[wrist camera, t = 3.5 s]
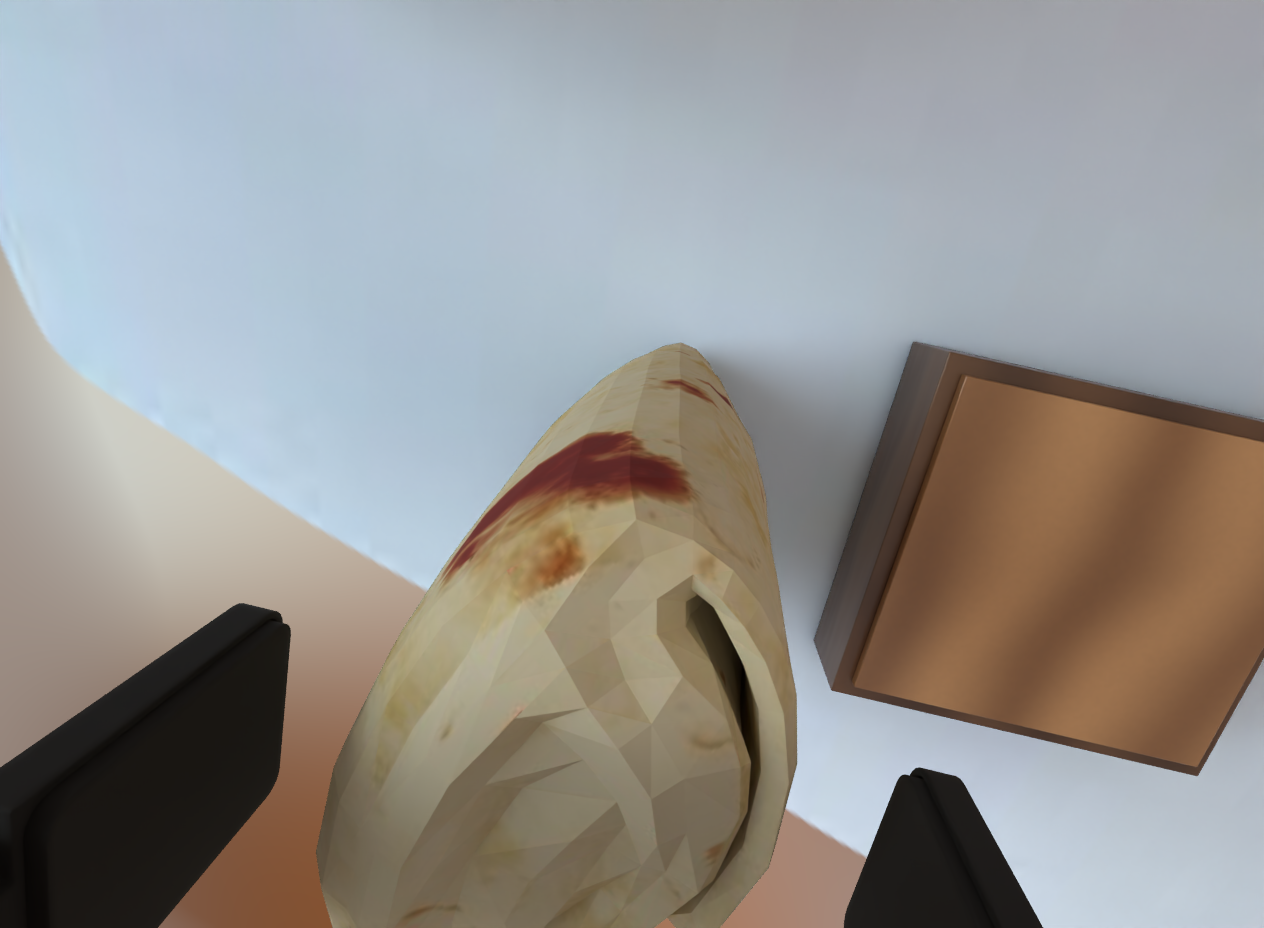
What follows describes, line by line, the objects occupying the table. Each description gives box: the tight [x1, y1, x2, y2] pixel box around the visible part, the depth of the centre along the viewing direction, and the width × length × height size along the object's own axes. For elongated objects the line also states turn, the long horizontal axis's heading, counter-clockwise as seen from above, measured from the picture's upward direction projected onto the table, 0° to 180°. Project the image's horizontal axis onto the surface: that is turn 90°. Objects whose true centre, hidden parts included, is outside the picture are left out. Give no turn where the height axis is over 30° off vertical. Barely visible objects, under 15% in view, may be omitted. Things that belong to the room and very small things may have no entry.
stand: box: [814, 342, 1264, 776], centre depth 25 cm, size 14×13×4 cm
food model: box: [316, 343, 797, 928], centre depth 17 cm, size 10×7×20 cm
